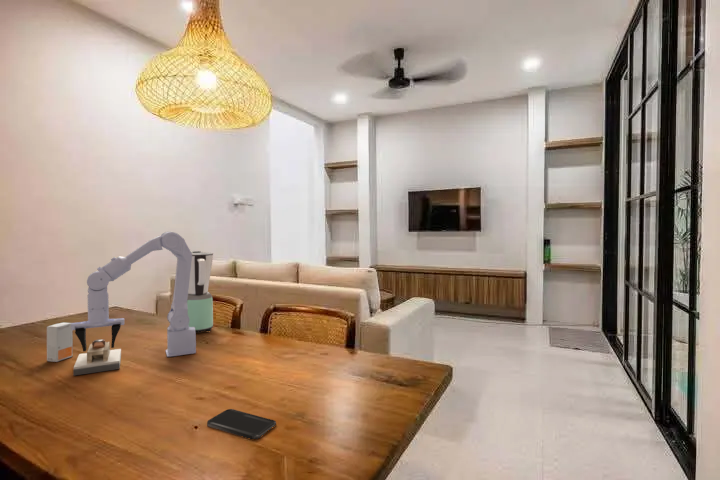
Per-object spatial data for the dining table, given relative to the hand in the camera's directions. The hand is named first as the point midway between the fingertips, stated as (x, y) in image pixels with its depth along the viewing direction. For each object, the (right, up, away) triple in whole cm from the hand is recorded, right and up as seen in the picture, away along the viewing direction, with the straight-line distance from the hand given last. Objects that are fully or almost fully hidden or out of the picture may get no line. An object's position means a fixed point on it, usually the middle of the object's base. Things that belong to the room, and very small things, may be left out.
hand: (98, 348), depth 128 cm
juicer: (+15, -4, +41) cm, 44 cm away
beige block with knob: (0, -3, 0) cm, 3 cm away
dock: (0, -5, 0) cm, 5 cm away
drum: (0, +1, 0) cm, 1 cm away
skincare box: (-17, -5, +5) cm, 19 cm away
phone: (+59, -8, -37) cm, 70 cm away
